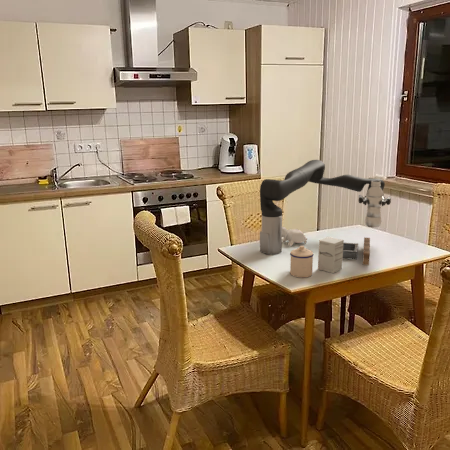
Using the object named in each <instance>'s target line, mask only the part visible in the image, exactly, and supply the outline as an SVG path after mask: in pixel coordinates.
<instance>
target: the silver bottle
mask: <svg viewBox="0 0 450 450" xmlns="http://www.w3.org/2000/svg"><path fill="white" fill-rule="evenodd" d="M380 183H381V181H371V188H370V189H369V190H368V189H367V190H368V191H367V190H366V194H367V204H366V206H367V208H366V209H367V210H366V213H365V214H366V216H365V220H364V223H365V224H364V225H365V226H366V227H368V228H372V229H373V228H379V227H380V226H381V225H382V217H381V216H382V215H381V211H382V210H381V209H382V208H381V207H382V205H381V202H382V197H383V193H384V191H383V192H382V190H381V188H380V186H381V185H380Z"/></svg>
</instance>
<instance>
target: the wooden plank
mask: <svg viewBox="0 0 450 450" xmlns="http://www.w3.org/2000/svg"><path fill="white" fill-rule="evenodd" d="M370 253H371V238H370V237H365V236H364V238H363V255H362V265H363V266H369V265H370Z"/></svg>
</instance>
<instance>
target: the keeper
mask: <svg viewBox="0 0 450 450" xmlns="http://www.w3.org/2000/svg"><path fill="white" fill-rule="evenodd" d="M358 249H359V243H356V242H355V243H353V242H344V243H343V258H342V259H345V260H358V259H357V258H358Z"/></svg>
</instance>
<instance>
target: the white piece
mask: <svg viewBox="0 0 450 450" xmlns="http://www.w3.org/2000/svg"><path fill="white" fill-rule="evenodd" d="M307 240H308V238H307V237H306V235H305V234H304V232H303V231H302V230H300V229H298V228H293V229H292V228H289V229H287V228H286V227H285V226H282V243H285V242H287V241H288V242H287V243H288V244H287V245H288V247H292V246H293V244H294V243H295V244H301V243H304V244H305V245H306V243H307Z"/></svg>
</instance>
